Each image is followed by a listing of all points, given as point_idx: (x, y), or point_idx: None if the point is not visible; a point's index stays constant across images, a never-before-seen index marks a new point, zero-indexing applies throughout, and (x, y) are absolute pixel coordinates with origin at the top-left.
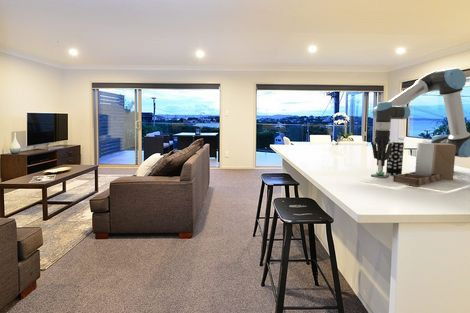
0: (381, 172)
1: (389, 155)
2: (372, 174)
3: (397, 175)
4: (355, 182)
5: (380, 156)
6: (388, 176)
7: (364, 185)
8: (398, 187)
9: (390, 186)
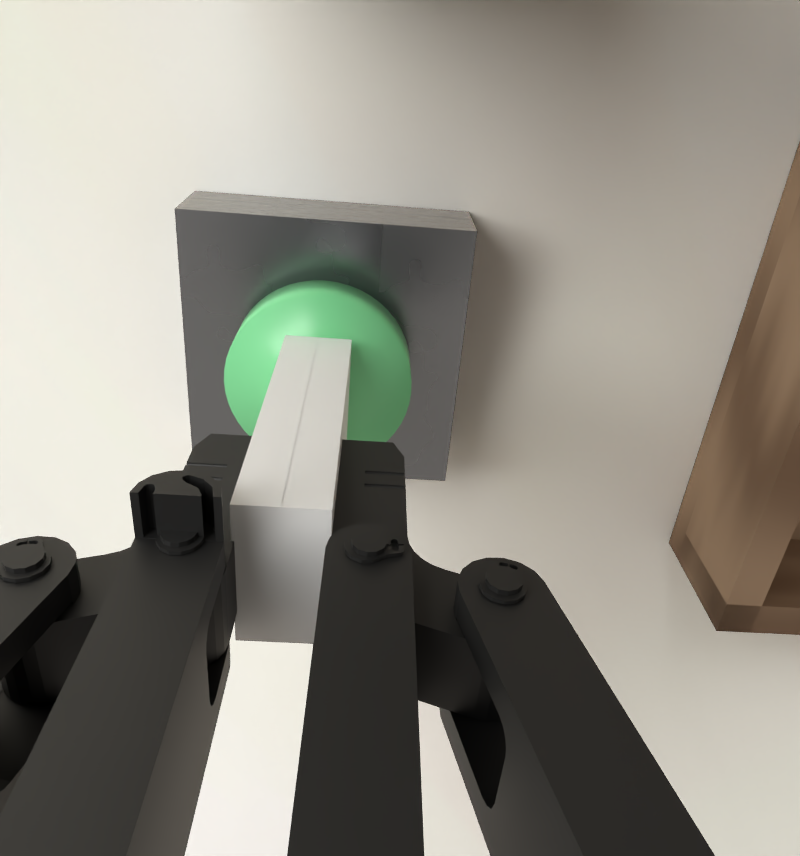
0: (361, 411)
1: (614, 694)
2: (193, 423)
3: (771, 567)
4: (282, 802)
5: (204, 659)
6: (471, 259)
7: (446, 849)
8: (794, 715)
9: (697, 729)
